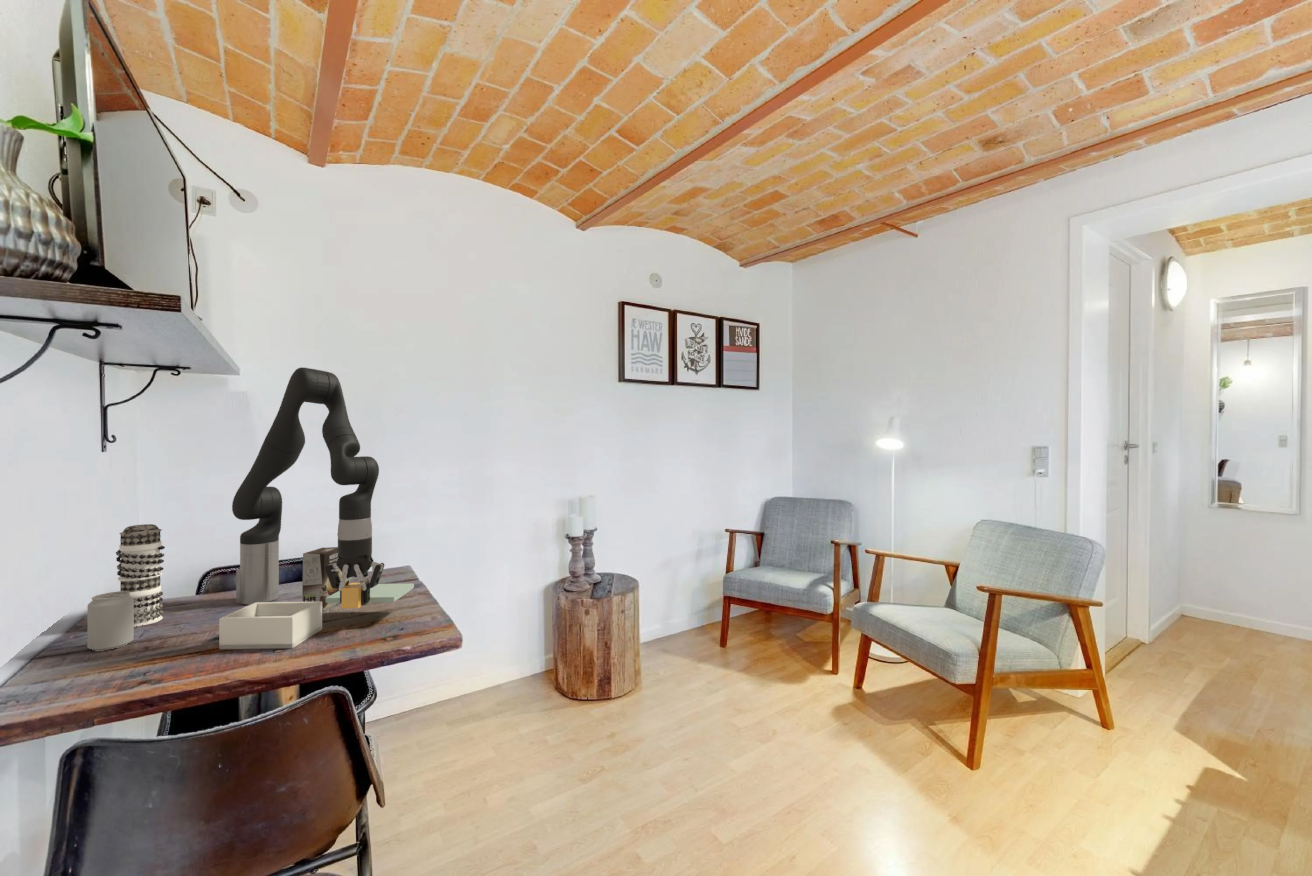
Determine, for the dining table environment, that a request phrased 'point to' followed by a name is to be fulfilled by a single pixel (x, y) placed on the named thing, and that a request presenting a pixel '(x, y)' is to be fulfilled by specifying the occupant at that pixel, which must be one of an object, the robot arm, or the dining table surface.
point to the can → (110, 620)
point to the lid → (377, 594)
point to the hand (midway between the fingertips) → (354, 604)
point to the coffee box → (318, 576)
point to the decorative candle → (142, 571)
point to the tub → (270, 625)
